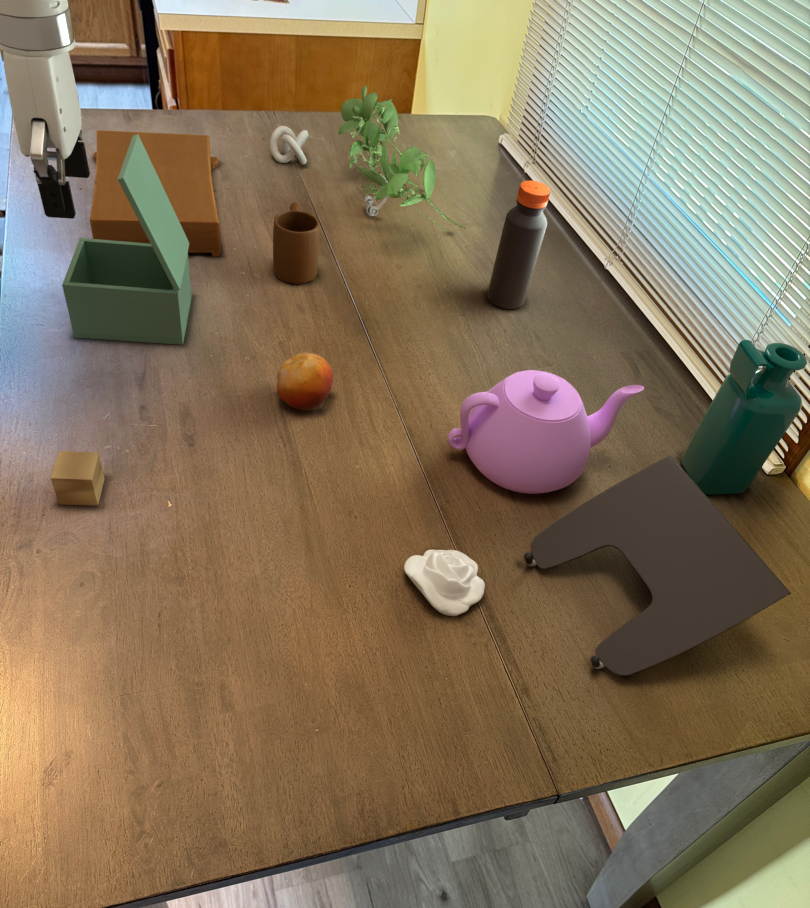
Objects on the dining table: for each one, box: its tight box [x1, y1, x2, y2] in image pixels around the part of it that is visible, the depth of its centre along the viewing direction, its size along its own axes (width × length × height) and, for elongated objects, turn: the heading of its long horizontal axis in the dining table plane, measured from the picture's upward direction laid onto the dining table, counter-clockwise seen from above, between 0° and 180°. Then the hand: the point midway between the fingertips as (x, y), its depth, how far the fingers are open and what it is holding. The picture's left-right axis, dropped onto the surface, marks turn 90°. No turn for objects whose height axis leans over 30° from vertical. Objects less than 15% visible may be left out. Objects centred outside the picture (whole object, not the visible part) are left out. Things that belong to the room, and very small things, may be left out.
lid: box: [118, 134, 189, 291], centre depth 107 cm, size 16×13×1 cm
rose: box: [403, 549, 486, 617], centre depth 92 cm, size 10×4×10 cm
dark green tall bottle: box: [680, 339, 808, 496], centre depth 105 cm, size 10×8×22 cm
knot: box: [269, 125, 309, 165], centre depth 156 cm, size 8×8×6 cm
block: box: [50, 450, 106, 507], centre depth 93 cm, size 5×5×5 cm
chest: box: [61, 237, 193, 346], centre depth 115 cm, size 16×13×9 cm
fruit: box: [276, 352, 334, 411], centre depth 110 cm, size 8×8×8 cm
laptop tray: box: [523, 454, 792, 677], centre depth 94 cm, size 23×23×9 cm
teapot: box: [446, 369, 645, 495], centre depth 105 cm, size 25×18×14 cm
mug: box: [272, 202, 321, 285], centre depth 130 cm, size 12×8×9 cm, turn 7°
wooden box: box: [89, 129, 222, 257], centre depth 138 cm, size 23×6×35 cm
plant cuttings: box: [337, 85, 467, 233], centre depth 145 cm, size 35×17×22 cm
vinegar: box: [486, 180, 551, 310], centre depth 128 cm, size 7×7×20 cm
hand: (68, 195), depth 89 cm, fingers open, 9 cm apart
